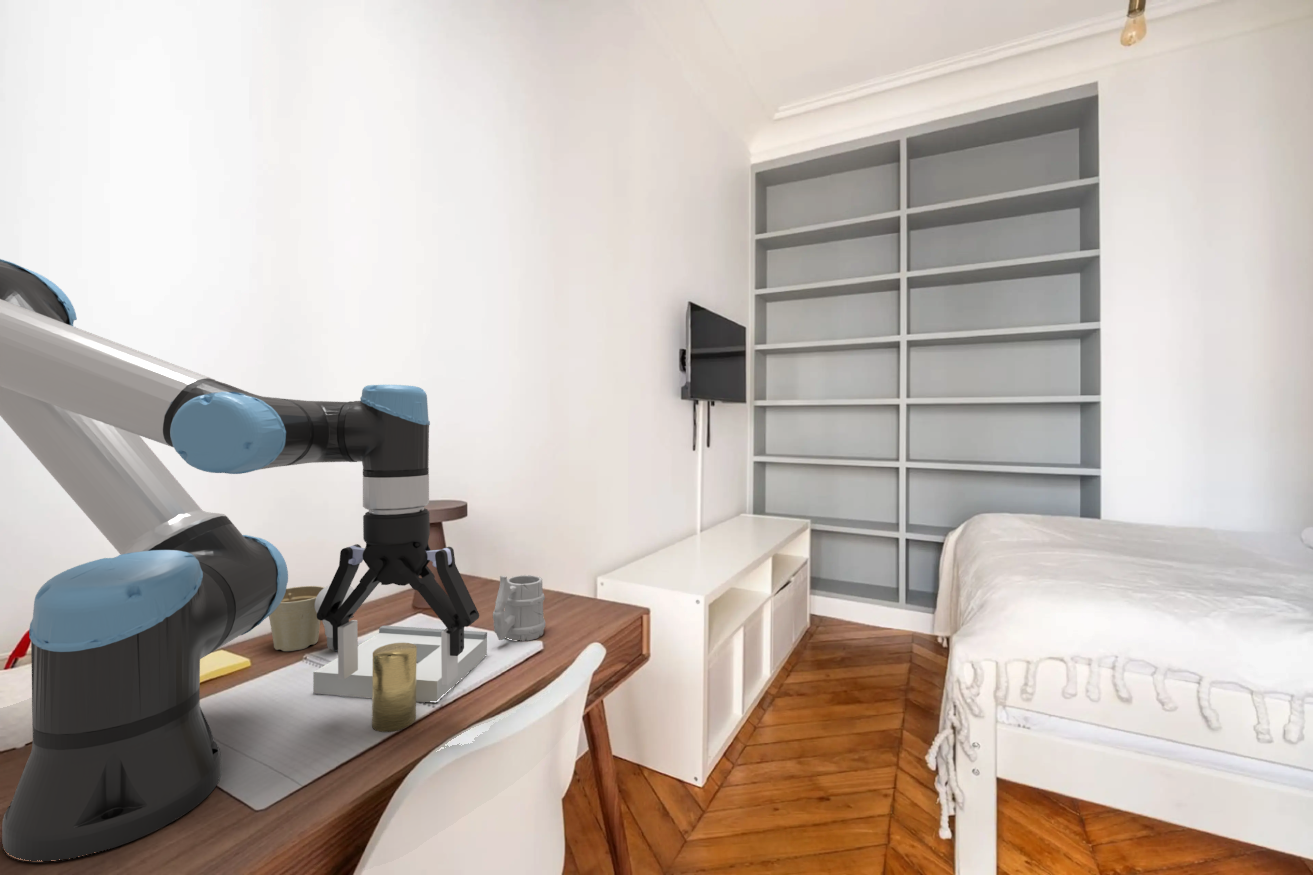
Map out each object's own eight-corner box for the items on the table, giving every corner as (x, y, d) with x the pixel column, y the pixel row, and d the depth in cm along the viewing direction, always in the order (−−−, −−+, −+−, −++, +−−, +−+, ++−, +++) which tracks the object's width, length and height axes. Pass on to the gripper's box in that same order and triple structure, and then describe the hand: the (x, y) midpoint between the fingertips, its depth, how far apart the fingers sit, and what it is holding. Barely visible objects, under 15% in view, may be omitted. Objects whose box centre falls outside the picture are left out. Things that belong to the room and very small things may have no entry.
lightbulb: (337, 659, 88) (338, 590, 88) (304, 655, 89) (305, 587, 89) (365, 644, 94) (366, 579, 94) (334, 641, 95) (334, 577, 95)
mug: (553, 630, 102) (554, 565, 102) (513, 653, 91) (514, 581, 91) (519, 623, 105) (519, 560, 105) (476, 646, 94) (477, 575, 94)
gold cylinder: (401, 733, 67) (402, 659, 67) (363, 730, 68) (363, 657, 68) (423, 712, 72) (424, 643, 72) (387, 709, 73) (388, 641, 73)
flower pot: (274, 661, 87) (274, 606, 87) (252, 646, 92) (253, 594, 92) (338, 643, 94) (338, 592, 94) (314, 630, 100) (315, 582, 100)
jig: (437, 703, 75) (437, 675, 75) (313, 693, 77) (313, 666, 77) (486, 655, 91) (487, 631, 90) (383, 647, 93) (383, 625, 93)
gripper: (504, 506, 72) (505, 669, 72) (325, 503, 75) (327, 659, 75) (479, 515, 64) (480, 697, 65) (282, 511, 67) (284, 685, 68)
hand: (398, 677), depth 70 cm, fingers open, 13 cm apart
